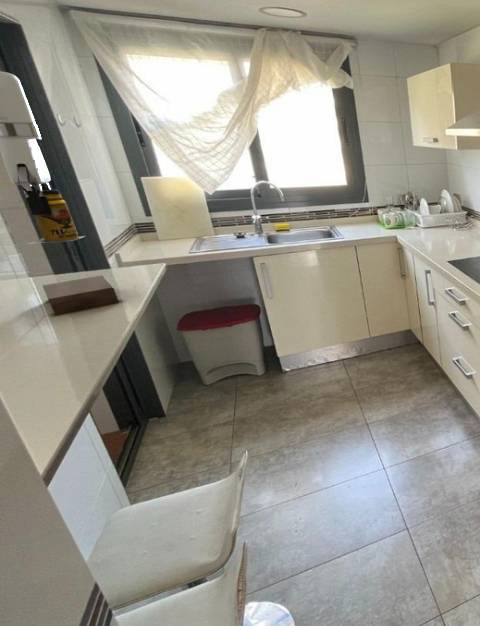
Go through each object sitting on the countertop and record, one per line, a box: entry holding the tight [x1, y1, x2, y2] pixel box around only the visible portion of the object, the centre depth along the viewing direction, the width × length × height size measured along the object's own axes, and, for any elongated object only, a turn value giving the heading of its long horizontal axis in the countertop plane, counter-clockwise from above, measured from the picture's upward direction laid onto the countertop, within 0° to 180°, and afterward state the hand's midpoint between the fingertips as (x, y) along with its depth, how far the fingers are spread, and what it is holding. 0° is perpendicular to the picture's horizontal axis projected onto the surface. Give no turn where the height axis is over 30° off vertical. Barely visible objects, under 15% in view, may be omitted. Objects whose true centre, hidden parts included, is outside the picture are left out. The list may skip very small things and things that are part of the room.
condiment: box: [27, 189, 86, 245], centre depth 110 cm, size 7×8×12 cm
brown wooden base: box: [42, 275, 120, 317], centre depth 112 cm, size 11×16×4 cm
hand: (46, 212), depth 110 cm, fingers closed on condiment, 6 cm apart
